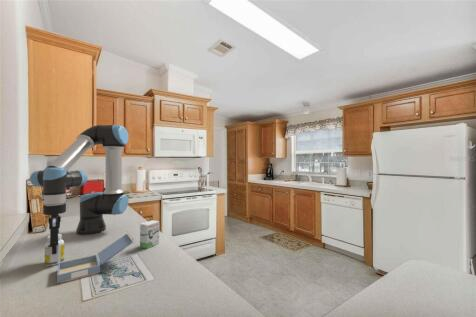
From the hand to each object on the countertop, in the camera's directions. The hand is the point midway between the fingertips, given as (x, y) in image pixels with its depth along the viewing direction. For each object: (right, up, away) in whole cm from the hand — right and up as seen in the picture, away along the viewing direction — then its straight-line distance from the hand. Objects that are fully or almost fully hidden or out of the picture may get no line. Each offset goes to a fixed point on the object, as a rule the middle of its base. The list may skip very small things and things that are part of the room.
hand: (54, 258), depth 95 cm
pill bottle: (0, -2, 0) cm, 2 cm away
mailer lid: (+25, +5, 0) cm, 26 cm away
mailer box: (+15, -2, -7) cm, 17 cm away
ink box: (+33, -2, +20) cm, 38 cm away
